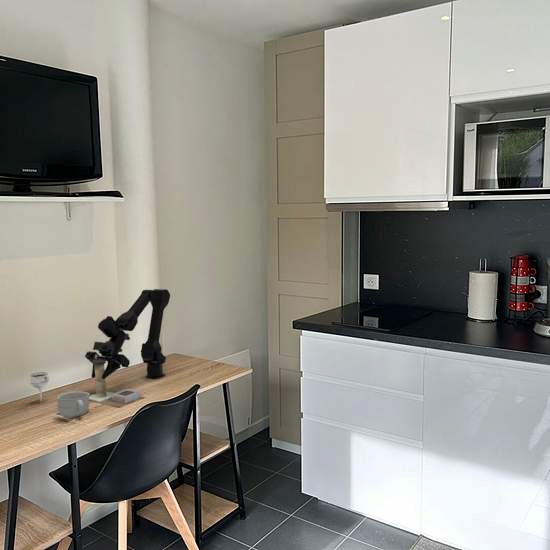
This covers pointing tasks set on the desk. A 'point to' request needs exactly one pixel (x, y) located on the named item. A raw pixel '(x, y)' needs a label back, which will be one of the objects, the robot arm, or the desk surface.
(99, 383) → the peg
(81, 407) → the teacup
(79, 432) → the desk surface
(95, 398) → the coaster
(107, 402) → the board
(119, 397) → the collar
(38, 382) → the wineglass
